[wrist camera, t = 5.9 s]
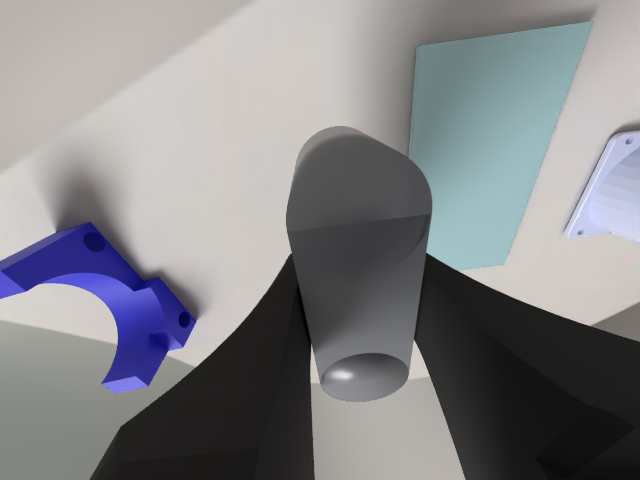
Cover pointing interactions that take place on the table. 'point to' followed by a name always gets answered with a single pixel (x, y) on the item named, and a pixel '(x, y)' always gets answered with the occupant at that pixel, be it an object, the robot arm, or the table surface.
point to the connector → (359, 258)
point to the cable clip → (106, 298)
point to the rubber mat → (487, 133)
